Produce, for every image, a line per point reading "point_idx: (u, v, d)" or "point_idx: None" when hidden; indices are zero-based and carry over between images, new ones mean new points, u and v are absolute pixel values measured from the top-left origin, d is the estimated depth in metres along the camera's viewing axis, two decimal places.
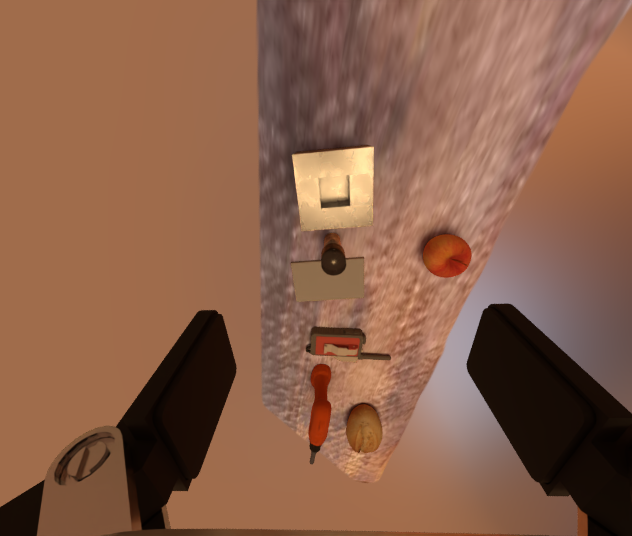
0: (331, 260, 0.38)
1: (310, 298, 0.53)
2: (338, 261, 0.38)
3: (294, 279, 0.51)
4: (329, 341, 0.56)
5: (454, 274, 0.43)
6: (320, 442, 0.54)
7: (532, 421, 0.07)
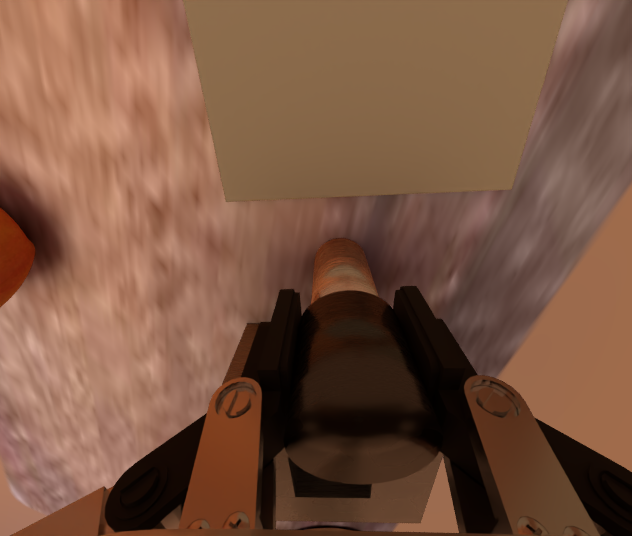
0: (370, 462, 0.07)
1: None
2: (331, 456, 0.06)
3: (532, 100, 0.11)
4: None
5: None
6: None
7: None
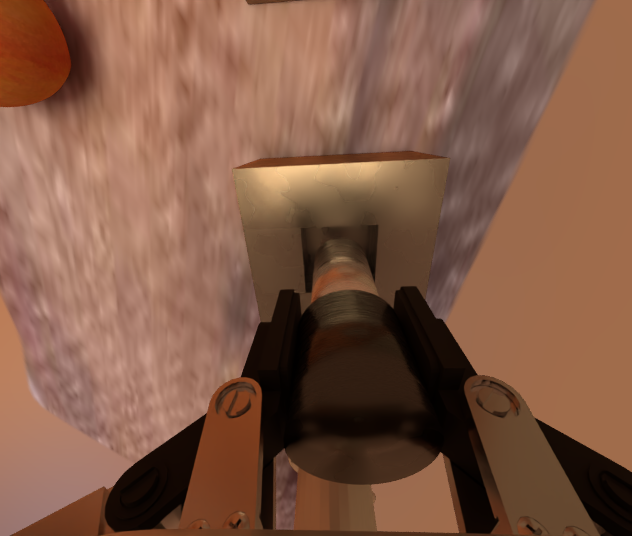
0: (370, 462, 0.06)
1: None
2: (331, 456, 0.06)
3: None
4: None
5: None
6: None
7: None
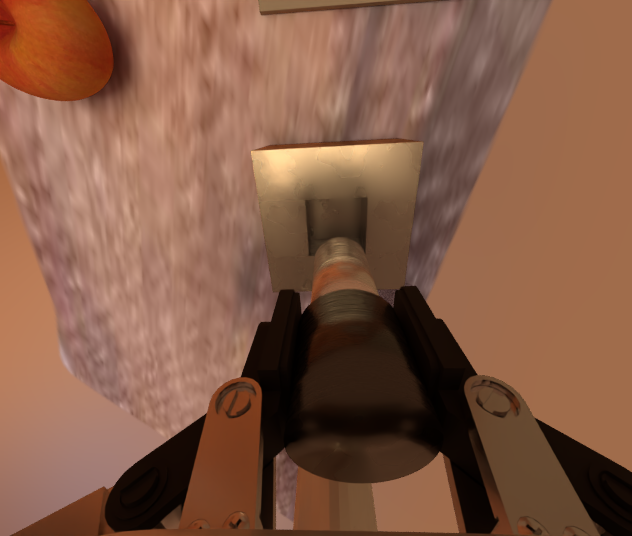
0: (370, 461, 0.06)
1: None
2: (331, 455, 0.06)
3: None
4: None
5: None
6: None
7: None
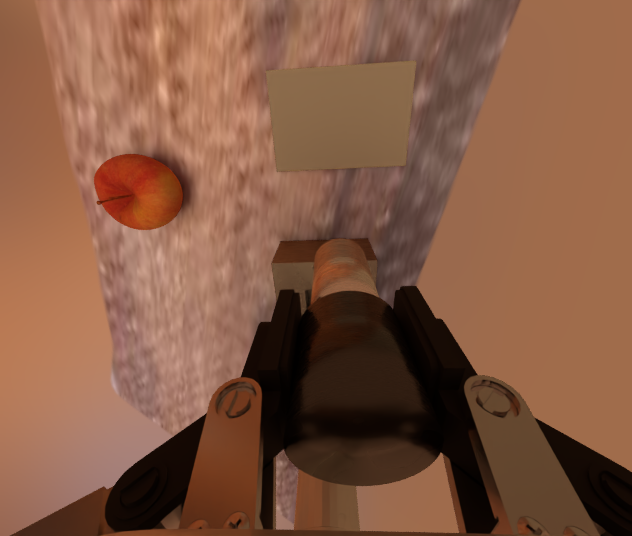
0: (370, 463, 0.06)
1: (382, 70, 0.24)
2: (331, 457, 0.06)
3: (407, 127, 0.26)
4: None
5: (108, 170, 0.23)
6: None
7: None
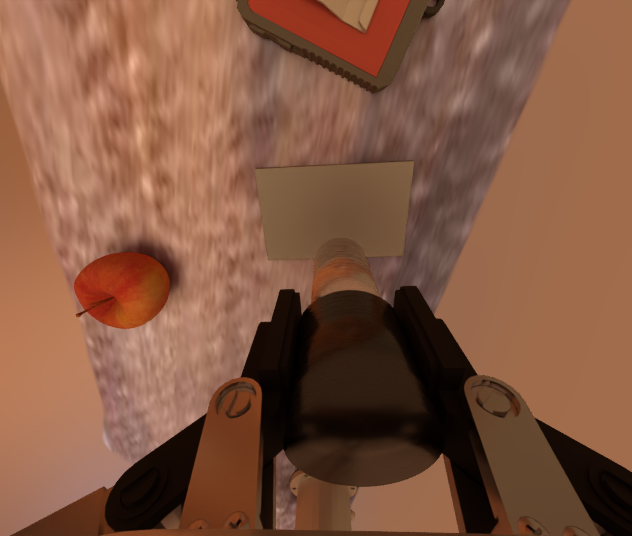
0: (371, 464, 0.06)
1: (378, 169, 0.22)
2: (331, 458, 0.06)
3: (404, 221, 0.25)
4: (345, 37, 0.17)
5: (88, 280, 0.22)
6: None
7: None
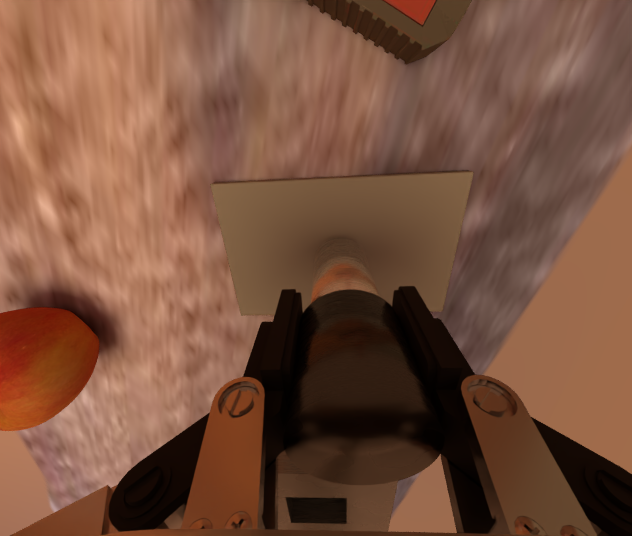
0: (371, 462, 0.06)
1: (413, 185, 0.14)
2: (331, 456, 0.06)
3: (448, 264, 0.16)
4: None
5: None
6: None
7: None
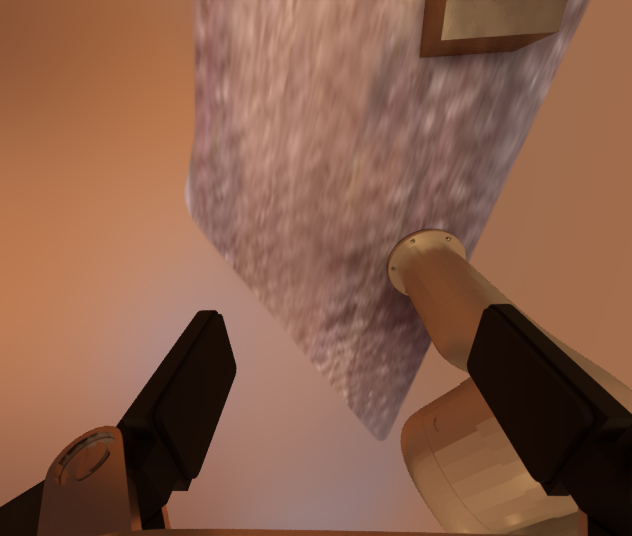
0: None
1: None
2: None
3: None
4: None
5: None
6: None
7: (532, 421, 0.07)
